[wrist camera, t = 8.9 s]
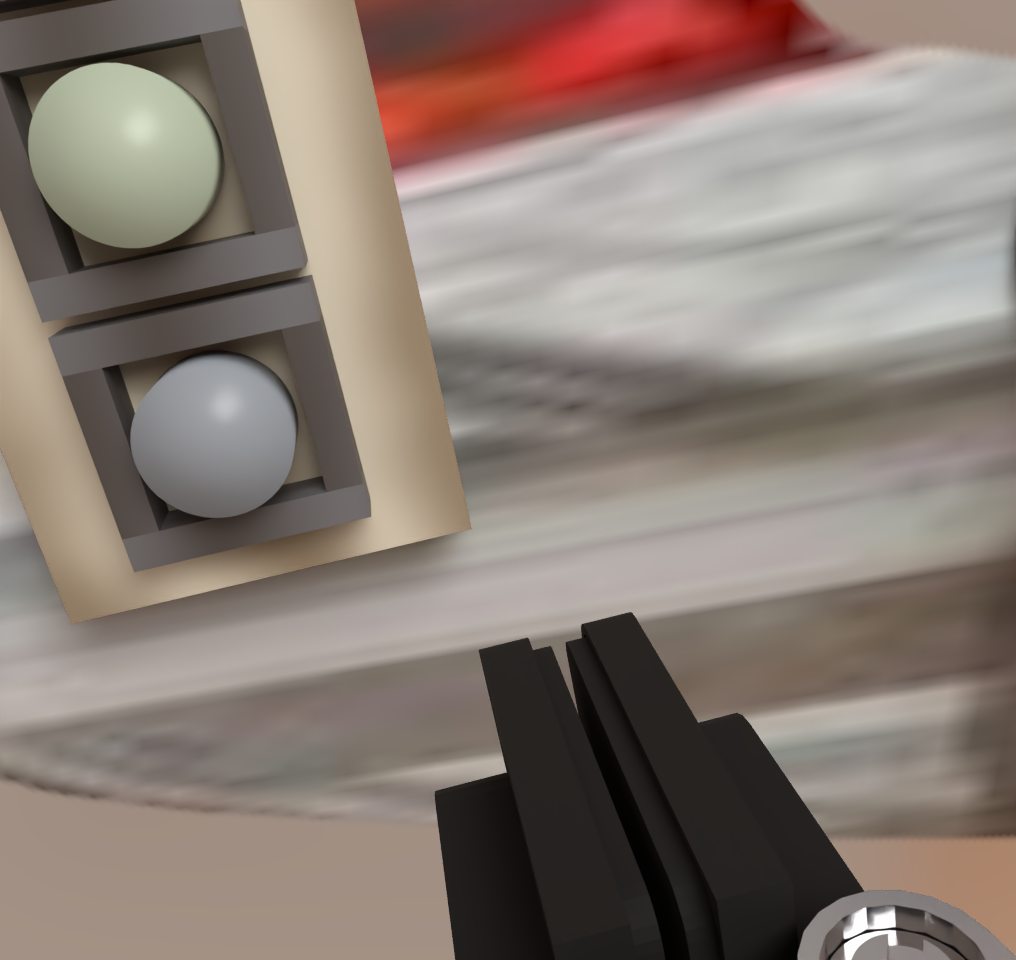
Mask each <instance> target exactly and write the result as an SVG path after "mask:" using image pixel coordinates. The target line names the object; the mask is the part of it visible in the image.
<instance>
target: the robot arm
mask: <svg viewBox="0 0 1016 960" xmlns="http://www.w3.org/2000/svg"><path fill="white" fill-rule="evenodd" d="M581 632H582V638H581V639H577V640H573V641H568V642H566V651H567V657H568V662H569V667H570V673H571V678H572V683H573V688H574V693H575V699H576V704H577V709H578V713H577V710H576V708H575V705H574V703H573V700H572V698H571V695H570V693H569V690H568V688H567V685H566V683H565V680H564V677H563V675H562V672H561V670H560V667H559V665H558V662H557V660H556V657H555V655H554V652H553V650H552V648H551V646H548V647H544V648H540V649H536V650H533V649H532V647H531V644H530V641H529V639H528V638H524V639H520V640H516V641H512V642H508V643H504V644H500V645H496V646H492V647H488V648H484V649H480V650H479V654H480V658H481V662H482V667H483V671H484V675H485V680H486V684H487V688H488V693H489V697H490V701H491V706H492V710H493V714H494V719H495V723H496V727H497V732H498V736H499V740H500V745H501V749H502V753H503V758H504V762H505V766H506V771H507V773H503V774H499V775H495V776H491V777H487V778H484V779H480V780H476V781H472V782H468V783H464V784H460V785H457V786H453V787H449V788H445V789H441V790H437V791H435V803H436V811H437V819H438V827H439V834H440V842H441V851H442V858H443V866H444V873H445V882H446V890H447V897H448V906H449V914H450V921H451V929H452V937H453V944H454V952H455V960H1016V956H1015V955H1014V954H1013V953H1012V952H1011V951H1010V950H1009V949H1008V948H1006V947H1005V946H1004V945H1003V944H1002V943H1001V942H1000V941H999V940H998V939H997V938H996V937H995V936H994V935H993V934H992V933H991V932H990V931H989V930H988V929H986V928H985V927H984V926H982V925H981V924H980V923H978V922H977V921H976V920H974V919H973V918H971V917H970V916H969V915H968V914H966V913H965V912H964V911H962V910H960V909H958V908H956V907H953V906H951V905H949V904H947V903H944V902H942V901H940V900H938V899H935V898H933V897H930V896H925V895H921V894H916V893H911V892H906V891H902V890H874V891H873V890H872V891H865V892H864V890H863V889H862V887H861V886H860V884H859V883H858V882H857V880H856V879H855V877H854V876H853V874H852V873H851V871H850V870H849V868H848V867H847V865H846V864H845V862H844V861H843V859H842V858H841V857H840V855H839V854H838V852H837V851H836V849H835V848H834V846H833V845H832V843H831V842H830V840H829V839H828V837H827V836H826V834H825V833H824V832H823V830H822V829H821V827H820V826H819V824H818V823H817V821H816V820H815V818H814V817H813V815H812V814H811V813H810V811H809V810H808V808H807V807H806V805H805V804H804V802H803V801H802V799H801V798H800V796H799V795H798V794H797V792H796V791H795V789H794V788H793V786H792V785H791V783H790V782H789V780H788V779H787V777H786V776H785V774H784V773H783V772H782V770H781V769H780V767H779V766H778V764H777V763H776V761H775V760H774V758H773V757H772V755H771V754H770V753H769V751H768V750H767V748H766V747H765V745H764V744H763V742H762V741H761V739H760V738H759V736H758V735H757V733H756V732H755V731H754V729H753V728H752V726H751V725H750V723H749V722H748V721H747V720H746V719H745V718H744V716H743V715H741V714H738V713H734V714H731V715H727V716H723V717H719V718H715V719H711V720H707V721H704V722H700V723H698V722H697V720H696V718H695V717H694V715H693V713H692V712H691V710H690V708H689V707H688V705H687V703H686V701H685V700H684V698H683V696H682V695H681V693H680V691H679V690H678V688H677V686H676V685H675V683H674V681H673V680H672V678H671V676H670V675H669V673H668V671H667V670H666V668H665V666H664V665H663V663H662V661H661V660H660V658H659V656H658V654H657V653H656V651H655V649H654V648H653V646H652V644H651V643H650V641H649V639H648V638H647V636H646V634H645V633H644V631H643V629H642V628H641V626H640V624H639V623H638V621H637V619H636V618H635V616H634V615H633V613H631V612H629V613H625V614H621V615H617V616H613V617H609V618H605V619H601V620H597V621H593V622H589V623H585V624H582V626H581ZM578 714H579V715H578Z"/></svg>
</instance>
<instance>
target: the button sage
mask: <svg viewBox="0 0 1016 960" xmlns="http://www.w3.org/2000/svg"><path fill="white" fill-rule="evenodd" d="M28 152H29V159H30V165H31V168H32V172H33V175H34V178H35V180H36V183H37V185H38V187H39V189H40V191H41V193H42V195H43V196H44V198H45V200H46V201H47V202H48V204H49V205H50V206H51V208H52V209H53V210H54V211H55V212H56V213H57V215H58V216H59V217H60V218H61V219H62V220H64V221H65V222H66V223H67V224H68V225H69V226H71V227H72V228H73V229H75V230H76V231H78V232H79V233H81V234H83V235H85V236H86V237H88V238H90V239H92V240H95V241H97V242H100V243H103V244H106V245H110V246H114V247H121V248H144V247H151V246H154V245H158V244H161V243H164V242H166V241H168V240H171V239H173V238H174V237H176V236H178V235H180V234H182V233H184V232H185V231H187V230H189V229H190V228H192V227H193V226H195V225H196V224H197V223H198V222H200V221H201V220H202V219H203V218H204V217H205V216H206V215H207V213H208V212H209V211H210V209H211V208H212V206H213V205H214V203H215V201H216V199H217V197H218V195H219V192H220V189H221V186H222V182H223V176H224V152H223V147H222V143H221V139H220V136H219V133H218V130H217V128H216V126H215V124H214V122H213V120H212V118H211V117H210V115H209V114H208V112H207V111H206V109H205V108H204V107H203V105H202V104H201V103H200V102H199V101H198V100H197V99H196V98H195V97H194V96H193V95H192V94H191V93H190V92H189V91H188V90H186V89H185V88H184V87H182V86H181V85H179V84H178V83H176V82H174V81H173V80H171V79H169V78H167V77H164V76H162V75H160V74H157V73H154V72H151V71H148V70H145V69H142V68H139V67H135V66H132V65H127V64H121V63H98V64H91V65H88V66H84V67H81V68H78V69H76V70H74V71H71V72H69V73H68V74H66V75H65V76H63V77H61V78H60V79H59V80H57V81H56V82H55V83H54V84H53V85H52V86H51V87H50V88H49V89H48V90H47V91H46V93H45V94H44V95H43V97H42V98H41V100H40V101H39V103H38V105H37V107H36V109H35V112H34V114H33V116H32V120H31V124H30V128H29V137H28Z"/></svg>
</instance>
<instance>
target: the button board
mask: <svg viewBox="0 0 1016 960" xmlns="http://www.w3.org/2000/svg"><path fill="white" fill-rule="evenodd" d="M98 63H121V64H127V65H132V66H135V67H139V68H142V69H145V70H148V71H151V72H154V73H157V74H160V75H162V76H164V77H167V78H169V79H171V80H173V81H174V82H176V83H178V84H179V85H181V86H182V87H184V88H185V89H186V90H188V91H189V92H190V93H191V94H192V95H193V96H194V97H195V98H196V99H197V100H198V101H199V102H200V103H201V104H202V105H203V107H204V108H205V109H206V111H207V112H208V114H209V115H210V117H211V118H212V120H213V122H214V124H215V126H216V128H217V130H218V133H219V136H220V139H221V143H222V147H223V152H224V176H223V182H222V186H221V189H220V192H219V195H218V197H217V199H216V201H215V203H214V205H213V206H212V208H211V209H210V211H209V212H208V213H207V215H206V216H205V217H204V218H203V219H202V220H201V221H200V222H198V223H197V224H196V225H195V226H193V227H192V228H190V229H189V230H187V231H185V232H184V233H182V234H180V235H178V236H176V237H174V238H173V239H171V240H168V241H166V242H164V243H161V244H158V245H154V246H151V247H144V248H121V247H114V246H110V245H106V244H103V243H100V242H97V241H95V240H92V239H90V238H88V237H86V236H85V235H83V234H81V233H79V232H78V231H76V230H75V229H73V228H72V227H71V226H69V225H68V224H67V223H66V222H65V221H64V220H62V219H61V218H60V217H59V216H58V215H57V213H56V212H55V211H54V210H53V209H52V208H51V206H50V205H49V204H48V202H47V201H46V200H45V198H44V196H43V195H42V193H41V191H40V189H39V187H38V185H37V183H36V180H35V178H34V175H33V172H32V168H31V165H30V159H29V152H28V137H29V128H30V124H31V120H32V116H33V114H34V112H35V109H36V107H37V105H38V103H39V101H40V100H41V98H42V97H43V95H44V94H45V93H46V91H47V90H48V89H49V88H50V87H51V86H52V85H53V84H54V83H55V82H56V81H57V80H59V79H60V78H61V77H63V76H65V75H66V74H68V73H69V72H71V71H74V70H76V69H78V68H81V67H84V66H88V65H91V64H98ZM214 350H223V351H232V352H237V353H241V354H244V355H247V356H250V357H252V358H254V359H256V360H258V361H260V362H262V363H263V364H265V365H266V366H267V367H269V368H270V369H271V370H272V371H274V372H275V373H276V374H277V375H278V376H279V378H280V379H281V380H282V381H283V382H284V384H285V385H286V387H287V388H288V390H289V392H290V394H291V395H292V397H293V400H294V403H295V406H296V410H297V415H298V434H297V440H296V445H295V451H294V456H293V461H292V466H291V468H290V471H289V474H288V476H287V478H286V479H285V481H284V483H283V484H282V486H281V487H280V489H279V490H278V491H277V492H276V493H275V494H274V495H273V496H272V497H271V498H270V499H269V500H268V501H266V502H265V503H264V504H262V505H261V506H259V507H257V508H256V509H253V510H251V511H249V512H247V513H243V514H240V515H237V516H231V517H224V518H210V517H202V516H196V515H192V514H189V513H186V512H183V511H181V510H179V509H177V508H175V507H173V506H171V505H170V504H168V503H166V502H165V501H164V500H162V499H161V498H160V497H158V496H157V495H156V494H155V493H154V492H153V491H152V490H151V489H150V488H149V486H148V485H147V484H146V483H145V481H144V480H143V478H142V477H141V475H140V473H139V472H138V469H137V467H136V465H135V462H134V459H133V455H132V451H131V443H130V439H131V427H132V422H133V418H134V415H135V412H136V410H137V408H138V406H139V404H140V403H141V401H142V400H143V398H144V397H145V395H146V394H147V393H148V392H149V391H150V389H151V388H152V387H153V386H154V384H155V383H156V382H157V381H158V379H159V378H160V377H161V376H162V375H163V374H164V373H165V371H166V370H167V369H169V368H170V367H171V366H172V365H174V364H175V363H177V362H178V361H180V360H181V359H183V358H186V357H188V356H190V355H193V354H196V353H200V352H205V351H214ZM0 449H1V451H2V454H3V456H4V459H5V461H6V464H7V466H8V469H9V471H10V474H11V476H12V479H13V481H14V483H15V486H16V488H17V491H18V493H19V496H20V498H21V501H22V503H23V506H24V508H25V511H26V513H27V516H28V518H29V521H30V523H31V526H32V528H33V531H34V533H35V535H36V538H37V540H38V543H39V545H40V548H41V550H42V553H43V555H44V558H45V560H46V563H47V565H48V568H49V570H50V573H51V575H52V578H53V580H54V583H55V585H56V588H57V590H58V592H59V595H60V597H61V600H62V602H63V605H64V607H65V610H66V612H67V615H68V617H69V620H70V622H71V624H74V623H78V622H82V621H86V620H90V619H95V618H99V617H103V616H107V615H111V614H116V613H120V612H124V611H128V610H132V609H137V608H141V607H145V606H149V605H153V604H158V603H162V602H166V601H170V600H174V599H179V598H183V597H187V596H191V595H195V594H200V593H204V592H208V591H212V590H216V589H221V588H225V587H229V586H233V585H237V584H242V583H246V582H250V581H254V580H259V579H263V578H267V577H271V576H275V575H280V574H284V573H288V572H292V571H296V570H301V569H305V568H309V567H313V566H317V565H322V564H326V563H330V562H334V561H338V560H343V559H347V558H351V557H355V556H359V555H364V554H368V553H372V552H376V551H380V550H385V549H389V548H393V547H397V546H401V545H406V544H410V543H414V542H418V541H422V540H427V539H431V538H435V537H439V536H443V535H448V534H452V533H456V532H460V531H464V530H469V529H472V528H471V523H470V519H469V514H468V510H467V505H466V501H465V496H464V492H463V487H462V483H461V478H460V474H459V469H458V465H457V460H456V456H455V451H454V447H453V442H452V438H451V433H450V429H449V424H448V420H447V415H446V411H445V406H444V402H443V397H442V393H441V388H440V384H439V379H438V375H437V370H436V366H435V362H434V357H433V353H432V348H431V344H430V339H429V335H428V330H427V326H426V321H425V317H424V312H423V308H422V303H421V299H420V294H419V290H418V285H417V281H416V276H415V272H414V267H413V263H412V258H411V254H410V249H409V245H408V240H407V236H406V231H405V227H404V222H403V218H402V213H401V209H400V204H399V200H398V195H397V191H396V186H395V182H394V177H393V173H392V168H391V164H390V159H389V155H388V150H387V146H386V141H385V137H384V132H383V128H382V123H381V119H380V114H379V110H378V105H377V101H376V96H375V92H374V87H373V83H372V78H371V74H370V69H369V65H368V60H367V56H366V51H365V47H364V42H363V38H362V33H361V29H360V24H359V20H358V15H357V11H356V6H355V2H354V0H0Z"/></svg>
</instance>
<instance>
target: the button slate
mask: <svg viewBox="0 0 1016 960" xmlns="http://www.w3.org/2000/svg"><path fill="white" fill-rule="evenodd" d="M297 434H298V415H297V410H296V406H295V403H294V400H293V397H292V395H291V394H290V392H289V390H288V388H287V387H286V385H285V384H284V382H283V381H282V380H281V379H280V378H279V376H278V375H277V374H276V373H275V372H274V371H272V370H271V369H270V368H269V367H267V366H266V365H265V364H263V363H262V362H260V361H258V360H256V359H254V358H252V357H250V356H247V355H244V354H241V353H237V352H232V351H223V350H214V351H205V352H200V353H196V354H193V355H190V356H188V357H186V358H183V359H181V360H180V361H178V362H177V363H175V364H174V365H172V366H171V367H170V368H169V369H167V370H166V371H165V373H164V374H163V375H162V376H161V377H160V378H159V379H158V381H157V382H156V383H155V384H154V386H153V387H152V388H151V389H150V391H149V392H148V393H147V394H146V395H145V397H144V398H143V400H142V401H141V403H140V404H139V406H138V408H137V410H136V412H135V415H134V418H133V422H132V427H131V439H130V443H131V451H132V455H133V459H134V462H135V465H136V467H137V469H138V472H139V473H140V475H141V477H142V478H143V480H144V481H145V483H146V484H147V485H148V486H149V488H150V489H151V490H152V491H153V492H154V493H155V494H156V495H157V496H158V497H160V498H161V499H162V500H164V501H165V502H166V503H168V504H170V505H171V506H173V507H175V508H177V509H179V510H181V511H183V512H186V513H189V514H192V515H196V516H202V517H210V518H224V517H231V516H237V515H240V514H243V513H247V512H249V511H251V510H253V509H256V508H257V507H259V506H261V505H262V504H264V503H265V502H266V501H268V500H269V499H270V498H271V497H272V496H273V495H274V494H275V493H276V492H277V491H278V490H279V489H280V487H281V486H282V484H283V483H284V481H285V479H286V478H287V476H288V474H289V471H290V468H291V466H292V461H293V456H294V451H295V445H296V440H297Z"/></svg>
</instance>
